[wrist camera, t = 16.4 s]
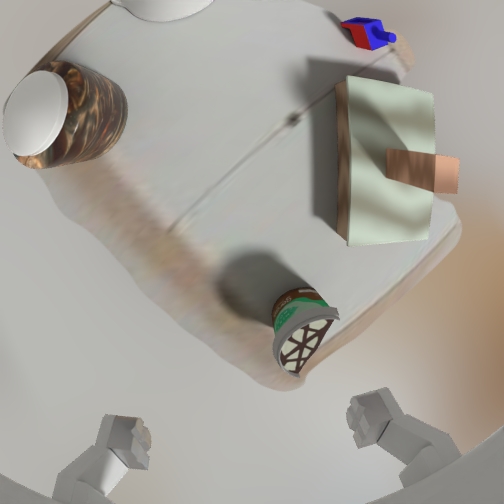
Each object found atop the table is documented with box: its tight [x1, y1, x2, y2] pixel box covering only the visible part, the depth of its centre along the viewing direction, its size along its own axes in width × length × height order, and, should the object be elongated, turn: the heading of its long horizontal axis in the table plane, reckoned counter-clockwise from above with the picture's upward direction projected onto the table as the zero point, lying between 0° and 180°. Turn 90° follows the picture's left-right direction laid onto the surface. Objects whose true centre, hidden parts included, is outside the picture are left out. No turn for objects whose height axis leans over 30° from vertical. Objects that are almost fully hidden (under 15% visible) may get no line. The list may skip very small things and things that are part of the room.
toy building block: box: [341, 17, 396, 51], centre depth 27 cm, size 4×4×8 cm
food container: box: [272, 288, 340, 378], centre depth 40 cm, size 12×6×10 cm, turn 157°
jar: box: [3, 61, 128, 169], centre depth 23 cm, size 12×12×15 cm
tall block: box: [386, 148, 459, 194], centre depth 28 cm, size 4×4×10 cm
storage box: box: [335, 76, 435, 247], centre depth 35 cm, size 23×15×5 cm, turn 3°
